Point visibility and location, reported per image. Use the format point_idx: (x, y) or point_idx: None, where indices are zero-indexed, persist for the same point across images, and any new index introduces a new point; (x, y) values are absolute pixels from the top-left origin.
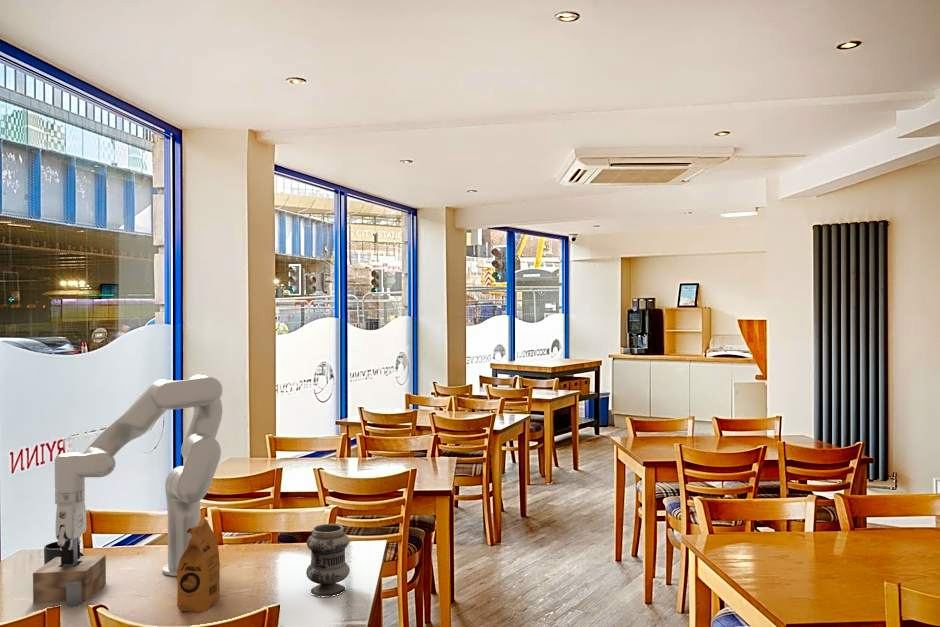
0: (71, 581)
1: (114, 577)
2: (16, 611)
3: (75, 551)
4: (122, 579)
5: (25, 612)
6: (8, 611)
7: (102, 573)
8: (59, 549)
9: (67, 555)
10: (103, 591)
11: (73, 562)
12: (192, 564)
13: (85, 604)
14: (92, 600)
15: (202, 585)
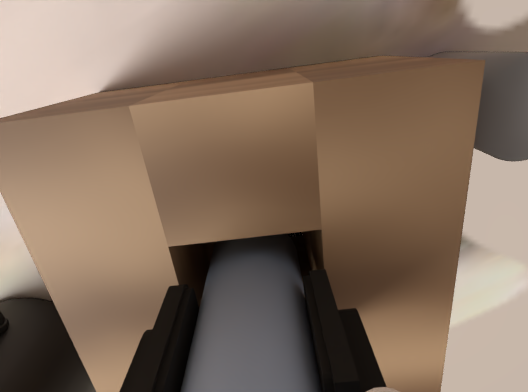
0: (497, 142)
1: (5, 85)
2: (472, 293)
3: (271, 347)
4: (21, 9)
5: (494, 256)
6: (464, 318)
7: (120, 94)
8: None
9: (371, 360)
10: (241, 24)
11: (311, 271)
12: None
13: (451, 21)
14: (390, 12)
15: None
